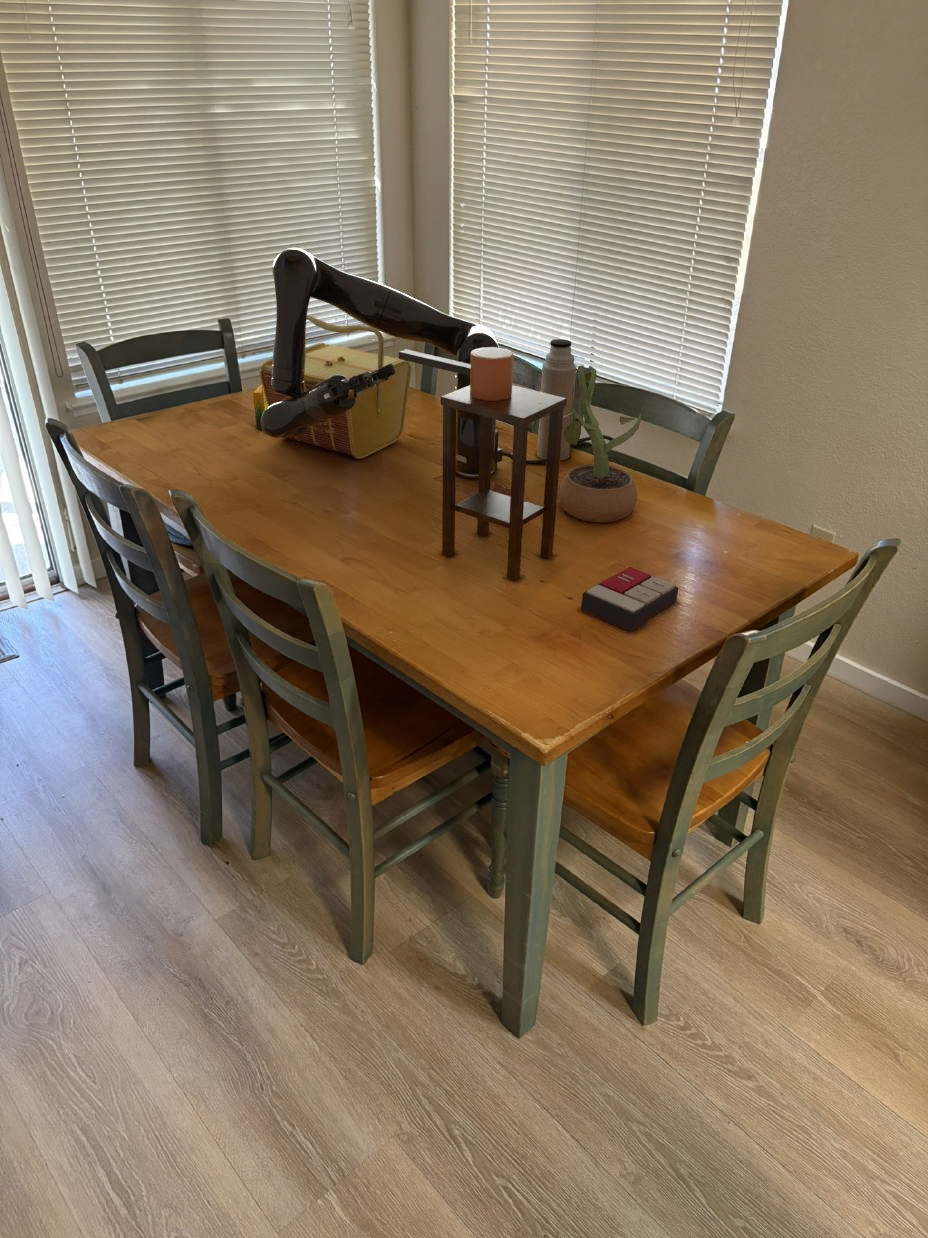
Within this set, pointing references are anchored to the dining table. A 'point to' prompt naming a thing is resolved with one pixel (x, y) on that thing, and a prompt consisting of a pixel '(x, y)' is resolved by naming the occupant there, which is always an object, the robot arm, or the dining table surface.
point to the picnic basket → (374, 410)
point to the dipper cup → (476, 370)
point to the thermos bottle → (557, 391)
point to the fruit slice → (500, 489)
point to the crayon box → (259, 404)
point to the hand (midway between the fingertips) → (378, 373)
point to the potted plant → (596, 467)
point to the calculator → (629, 598)
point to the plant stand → (500, 507)
